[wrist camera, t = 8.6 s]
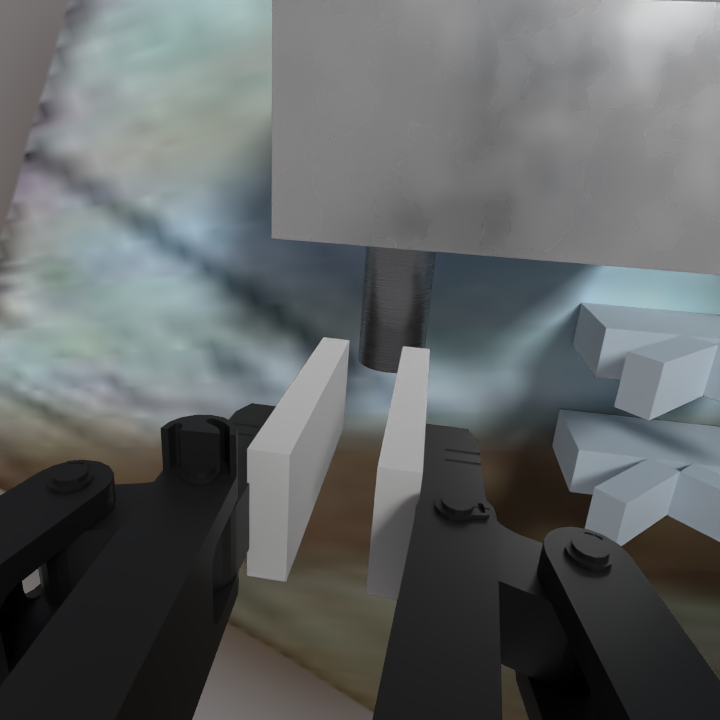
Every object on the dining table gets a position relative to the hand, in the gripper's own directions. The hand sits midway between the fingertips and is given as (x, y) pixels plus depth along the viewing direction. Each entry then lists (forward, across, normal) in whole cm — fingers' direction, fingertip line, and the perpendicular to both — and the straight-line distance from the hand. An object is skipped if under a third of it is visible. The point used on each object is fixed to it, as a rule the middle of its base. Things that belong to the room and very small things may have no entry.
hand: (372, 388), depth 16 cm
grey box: (+17, +3, +7) cm, 18 cm away
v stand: (+17, +14, -5) cm, 22 cm away
